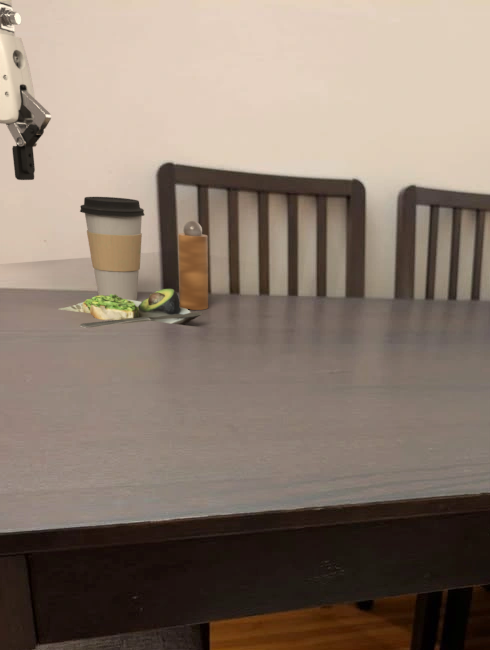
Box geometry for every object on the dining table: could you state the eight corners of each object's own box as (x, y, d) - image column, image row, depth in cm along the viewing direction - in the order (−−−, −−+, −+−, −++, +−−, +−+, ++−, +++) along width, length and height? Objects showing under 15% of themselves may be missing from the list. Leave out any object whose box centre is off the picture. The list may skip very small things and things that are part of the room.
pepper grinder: (175, 307, 114) (172, 220, 109) (186, 303, 118) (185, 218, 113) (201, 311, 113) (200, 223, 108) (212, 306, 117) (211, 221, 112)
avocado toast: (140, 350, 89) (138, 313, 87) (17, 330, 93) (13, 294, 91) (213, 323, 106) (213, 291, 105) (106, 307, 111) (104, 276, 109)
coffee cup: (160, 300, 118) (157, 202, 112) (114, 307, 111) (107, 202, 105) (120, 291, 123) (115, 196, 117) (73, 297, 115) (65, 196, 109)
